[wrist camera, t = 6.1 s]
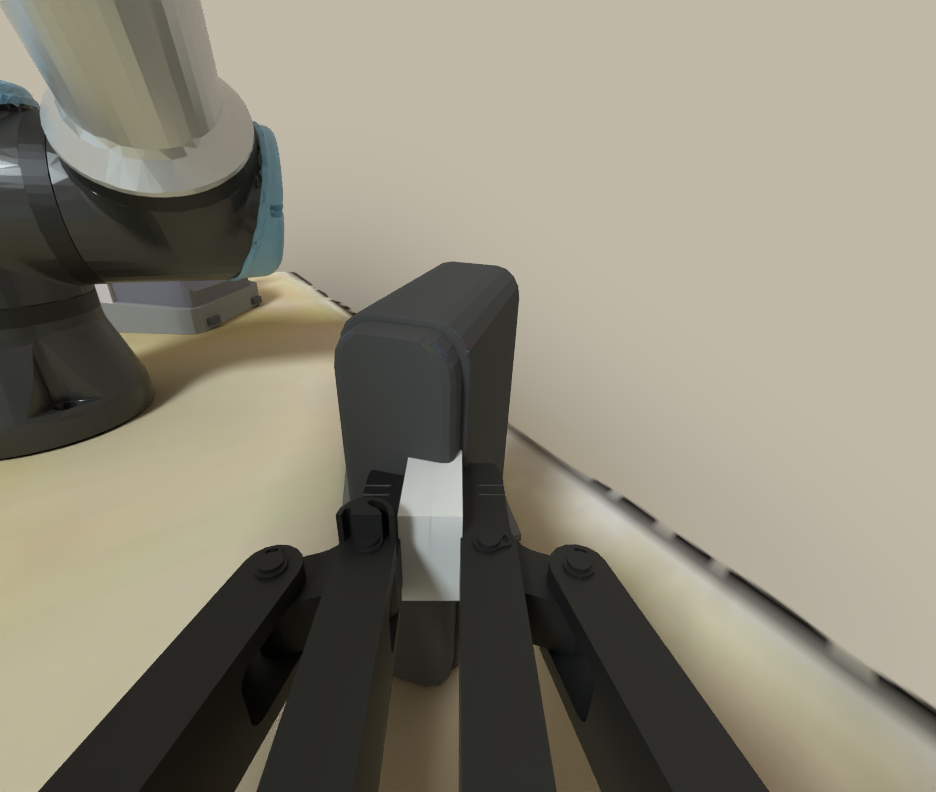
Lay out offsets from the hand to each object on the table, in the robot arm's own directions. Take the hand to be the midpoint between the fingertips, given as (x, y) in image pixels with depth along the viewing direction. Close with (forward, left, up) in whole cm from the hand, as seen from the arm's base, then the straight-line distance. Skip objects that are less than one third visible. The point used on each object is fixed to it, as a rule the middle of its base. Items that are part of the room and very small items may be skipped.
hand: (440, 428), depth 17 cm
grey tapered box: (-58, -31, -10) cm, 67 cm away
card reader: (-1, 0, -10) cm, 10 cm away
